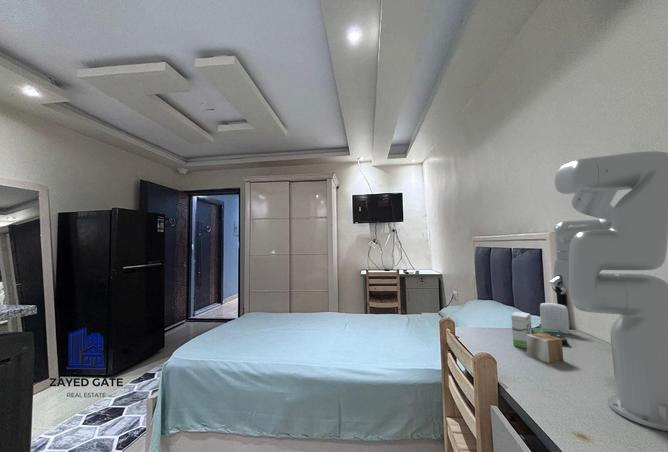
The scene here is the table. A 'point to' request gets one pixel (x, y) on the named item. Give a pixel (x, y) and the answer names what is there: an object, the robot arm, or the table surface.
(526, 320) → the ink box
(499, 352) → the table surface
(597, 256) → the robot arm
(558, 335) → the disk drive
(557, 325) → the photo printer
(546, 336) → the block
